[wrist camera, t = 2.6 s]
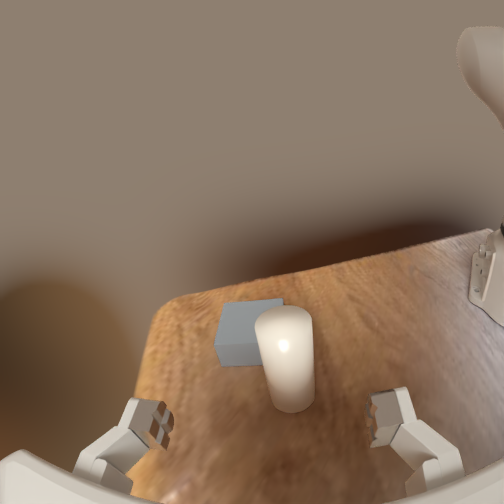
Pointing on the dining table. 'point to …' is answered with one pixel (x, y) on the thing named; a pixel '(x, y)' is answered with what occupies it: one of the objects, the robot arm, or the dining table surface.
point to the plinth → (241, 332)
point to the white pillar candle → (287, 356)
